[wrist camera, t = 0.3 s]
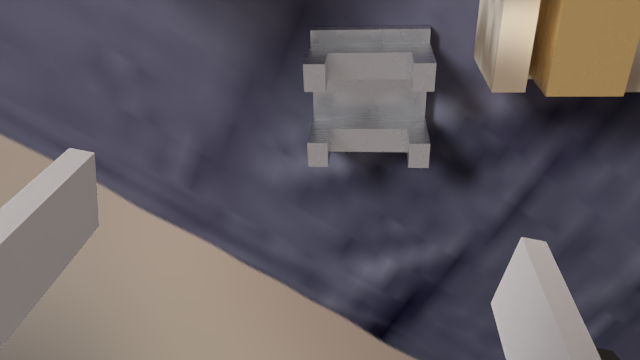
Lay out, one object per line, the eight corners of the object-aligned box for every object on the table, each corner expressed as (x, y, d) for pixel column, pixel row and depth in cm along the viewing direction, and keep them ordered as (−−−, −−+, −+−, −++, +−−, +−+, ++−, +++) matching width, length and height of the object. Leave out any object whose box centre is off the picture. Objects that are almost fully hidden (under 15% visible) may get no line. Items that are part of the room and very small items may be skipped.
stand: (311, 26, 40) (302, 49, 35) (429, 25, 40) (437, 48, 34) (316, 143, 45) (309, 177, 40) (421, 143, 45) (427, 179, 39)
